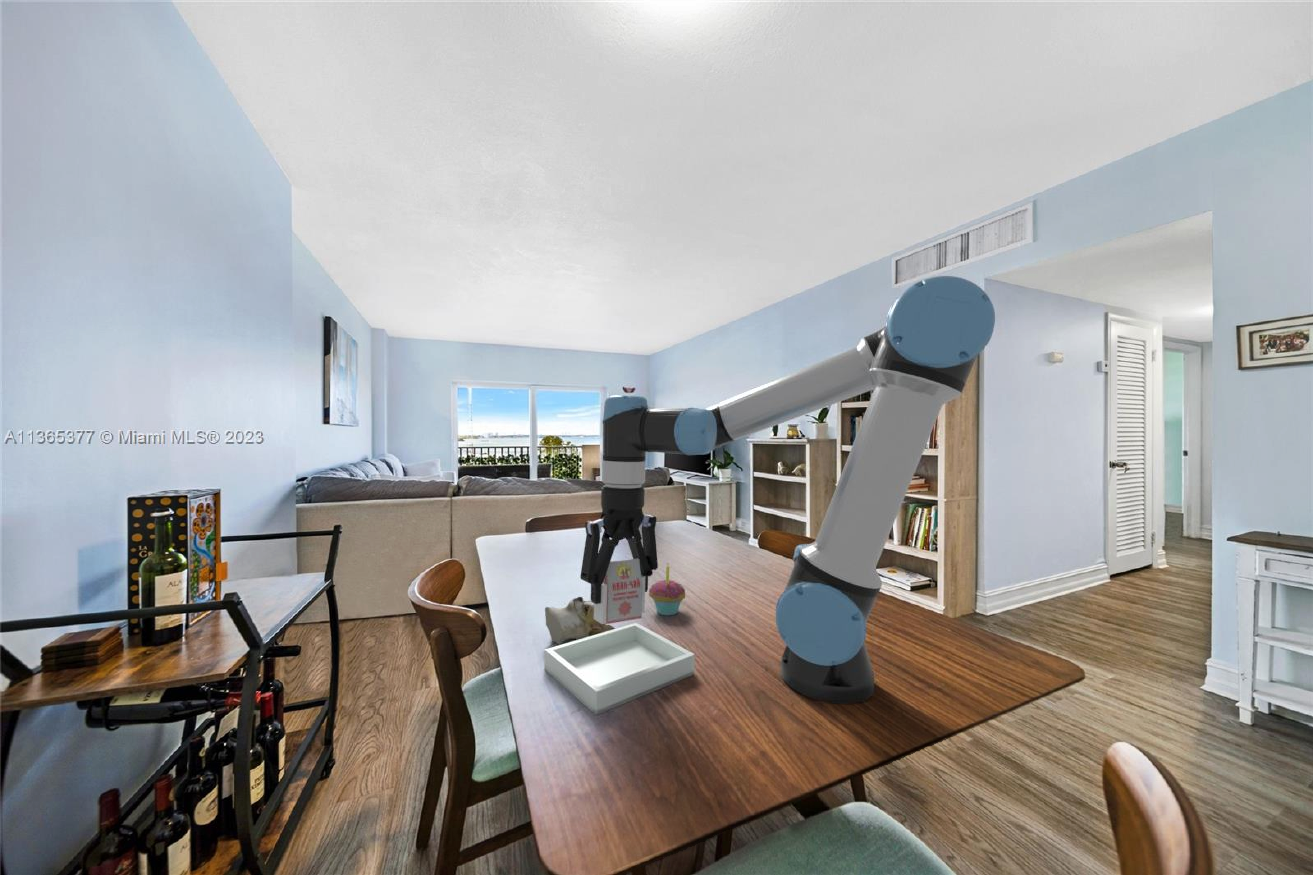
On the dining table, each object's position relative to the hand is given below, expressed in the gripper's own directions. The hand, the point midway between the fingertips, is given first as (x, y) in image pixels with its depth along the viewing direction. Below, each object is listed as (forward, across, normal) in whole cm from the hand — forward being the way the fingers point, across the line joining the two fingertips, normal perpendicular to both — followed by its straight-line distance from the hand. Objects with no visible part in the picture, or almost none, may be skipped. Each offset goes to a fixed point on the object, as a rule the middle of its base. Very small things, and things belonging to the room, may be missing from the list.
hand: (619, 615), depth 84 cm
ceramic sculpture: (+10, -2, -16) cm, 19 cm away
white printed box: (+1, 0, 0) cm, 1 cm away
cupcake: (+10, -25, -16) cm, 32 cm away
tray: (+10, 0, 0) cm, 10 cm away
